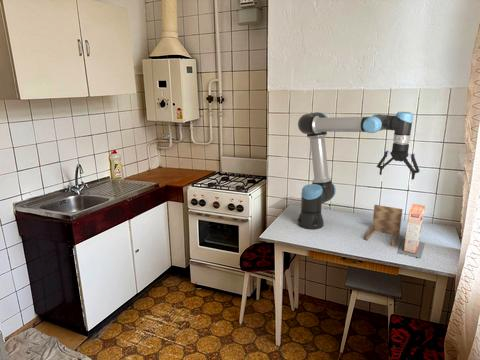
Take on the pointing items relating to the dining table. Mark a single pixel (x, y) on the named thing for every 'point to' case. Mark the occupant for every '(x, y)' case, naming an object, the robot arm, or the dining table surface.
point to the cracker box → (414, 228)
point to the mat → (418, 253)
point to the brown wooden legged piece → (386, 221)
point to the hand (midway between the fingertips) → (395, 183)
